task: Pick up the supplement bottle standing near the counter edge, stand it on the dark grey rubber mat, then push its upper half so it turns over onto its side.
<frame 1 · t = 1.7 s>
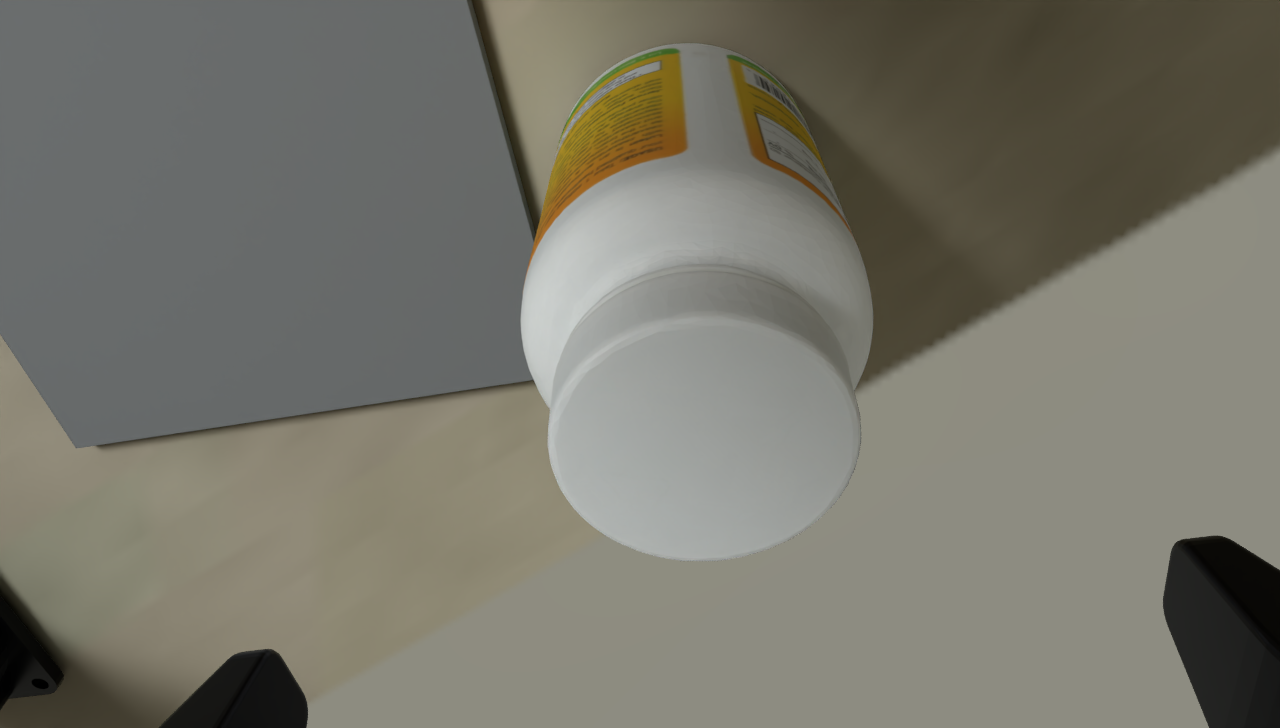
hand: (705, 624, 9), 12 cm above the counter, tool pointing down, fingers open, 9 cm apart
supplement bottle: (683, 163, 20), on the counter
mat: (227, 203, 20), on the counter
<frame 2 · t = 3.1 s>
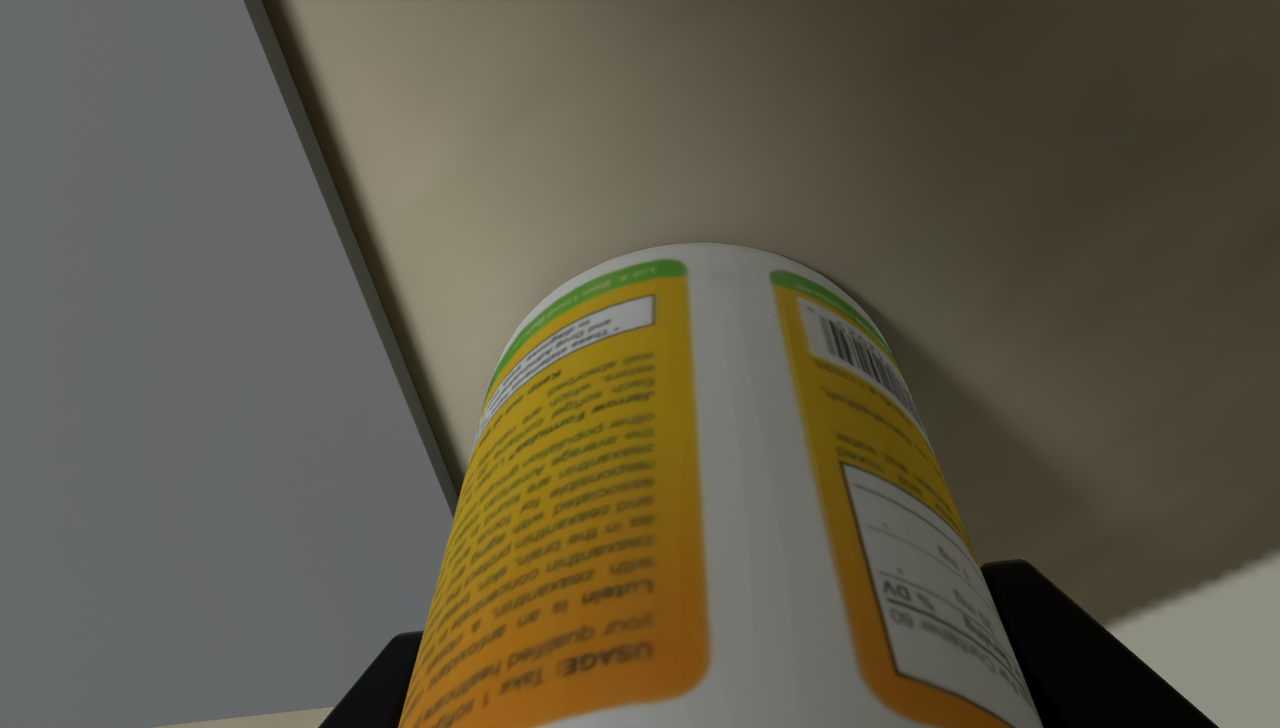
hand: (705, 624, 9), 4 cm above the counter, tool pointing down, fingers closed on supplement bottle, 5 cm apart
supplement bottle: (692, 406, 12), on the counter, touching gripper
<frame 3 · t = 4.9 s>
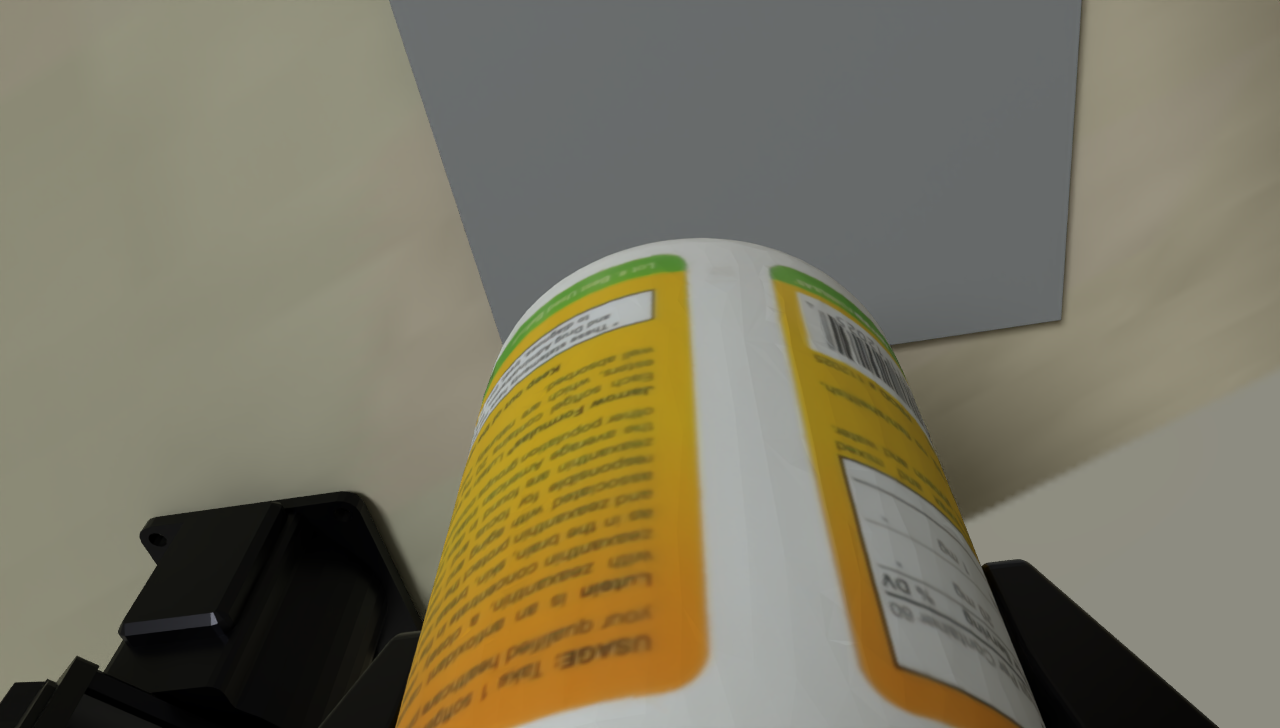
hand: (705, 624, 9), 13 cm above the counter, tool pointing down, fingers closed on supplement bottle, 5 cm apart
supplement bottle: (692, 402, 12), point 9 cm above the counter, touching gripper
mat: (750, 138, 20), on the counter
when the fingers open (5 cm above the counter, at t = 6.7 s): supplement bottle stays where it is, resting on mat.
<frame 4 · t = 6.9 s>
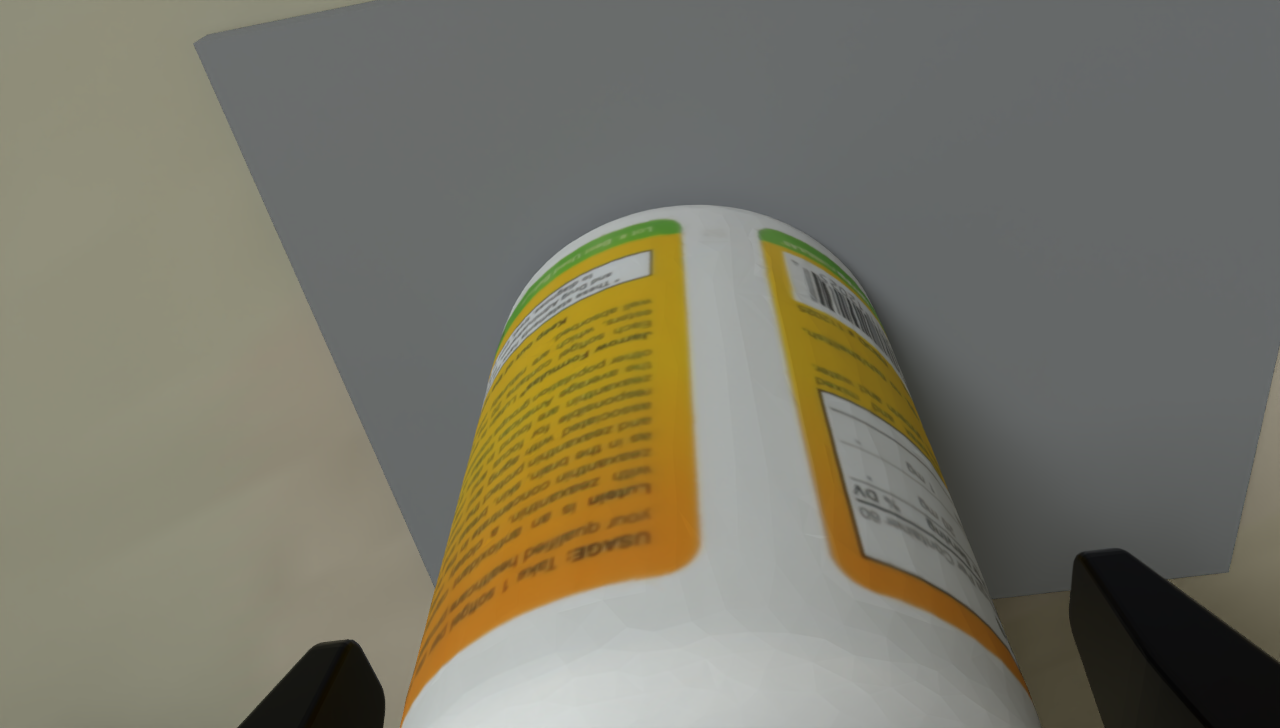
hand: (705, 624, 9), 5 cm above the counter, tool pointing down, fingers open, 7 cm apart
supplement bottle: (689, 362, 13), resting on mat
mat: (795, 337, 13), on the counter
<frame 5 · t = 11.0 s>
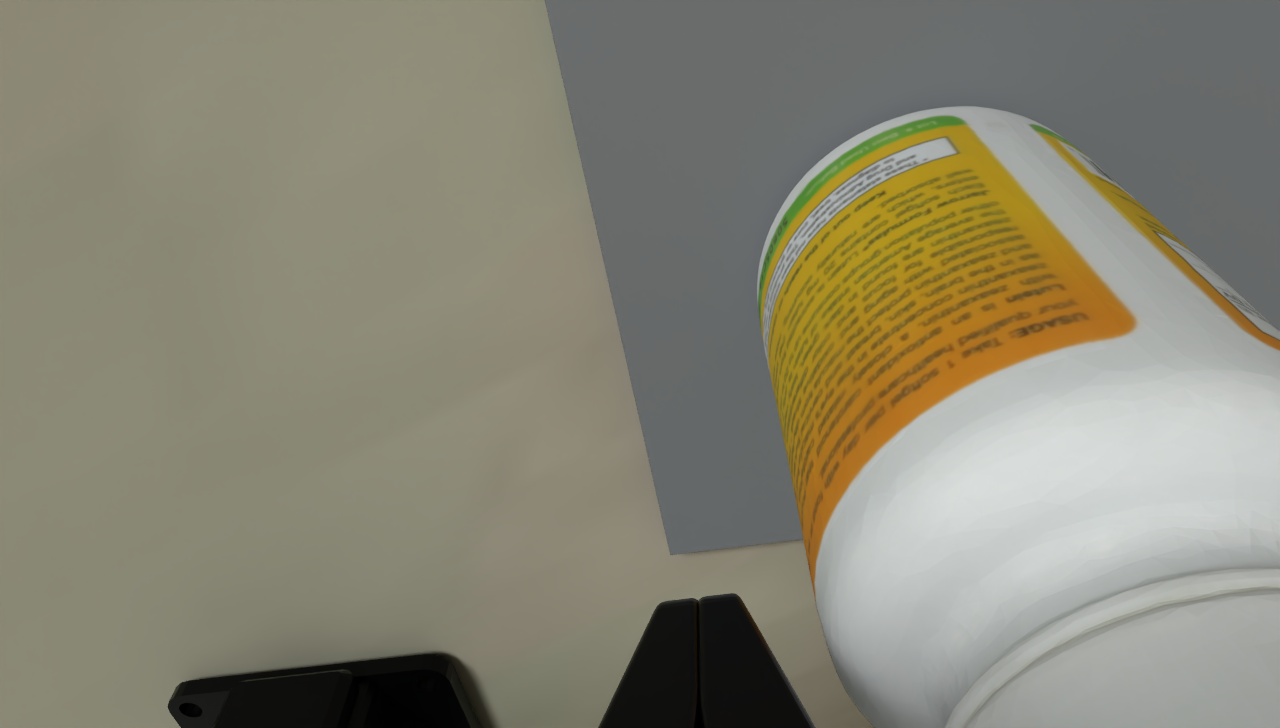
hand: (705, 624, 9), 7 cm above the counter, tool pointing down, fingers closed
supplement bottle: (922, 262, 15), resting on mat, touching gripper
mat: (1018, 240, 15), on the counter
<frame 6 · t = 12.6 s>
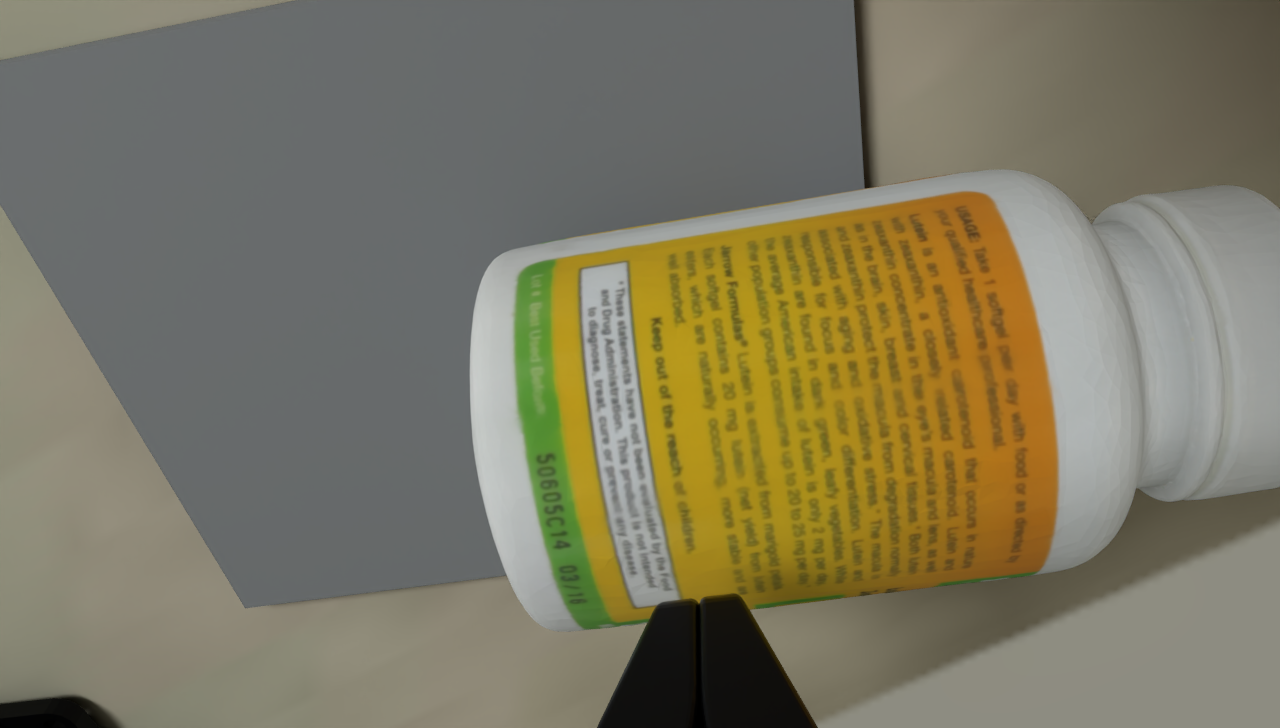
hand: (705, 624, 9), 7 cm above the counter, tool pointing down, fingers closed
supplement bottle: (508, 442, 13), point 3 cm above the counter, touching mat
mat: (477, 324, 16), on the counter
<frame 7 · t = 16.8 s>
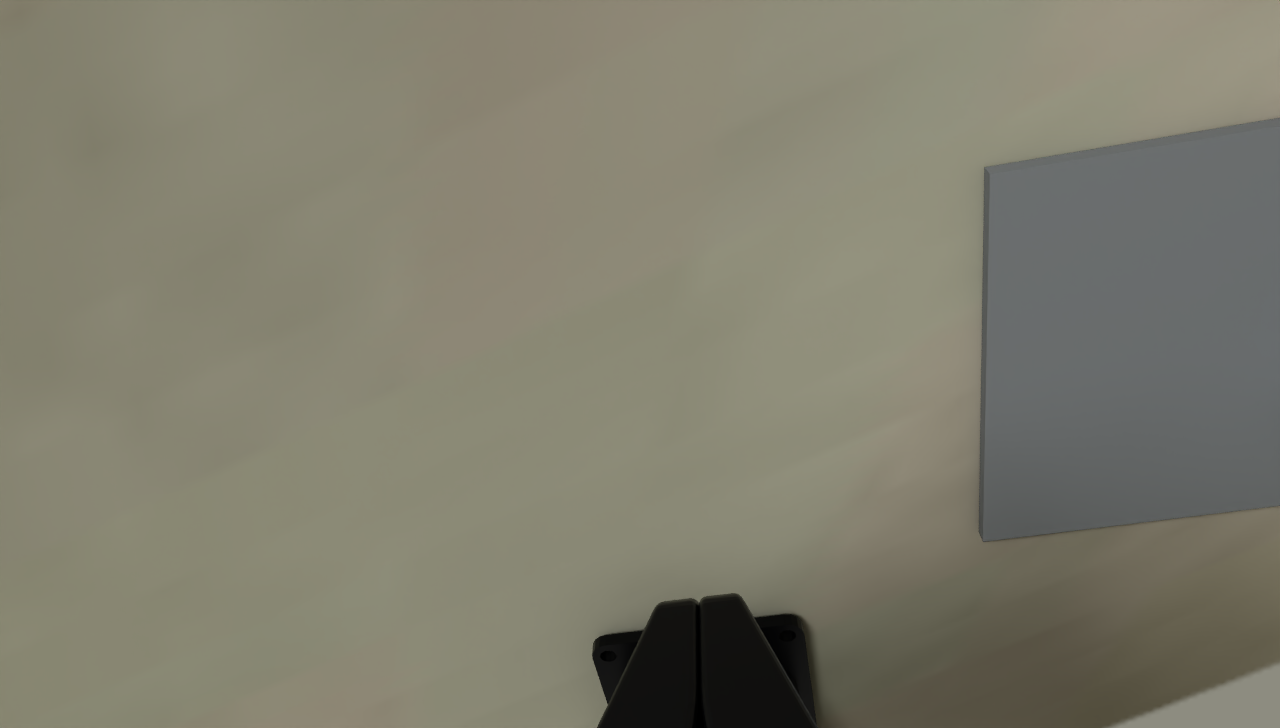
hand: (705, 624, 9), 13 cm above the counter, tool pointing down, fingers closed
mat: (1256, 333, 22), on the counter
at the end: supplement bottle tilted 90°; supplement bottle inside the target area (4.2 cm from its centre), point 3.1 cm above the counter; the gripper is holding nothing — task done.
